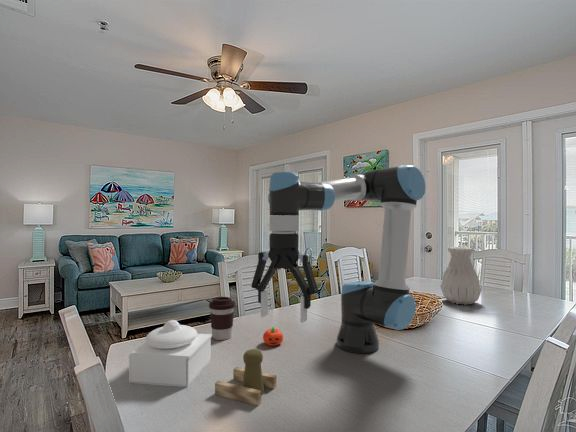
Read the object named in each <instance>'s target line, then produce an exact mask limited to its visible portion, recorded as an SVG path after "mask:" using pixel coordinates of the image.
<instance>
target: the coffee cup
mask: <svg viewBox="0 0 576 432" xmlns="http://www.w3.org/2000/svg"><path fill="white" fill-rule="evenodd" d="M235 306H236V302H235V301H234V300H232V298H231V297H230V296H229V297H228V296H217V297H214V298H212V301H210V302H209V303H208V308H209V309H210V326H211V333H212V337H211V338H213V339H214V340H216V341H225V340H229V339H230V338H231V337H232V335H233V332H232V331H233V327H234V312H235V311H234V308H235Z"/></svg>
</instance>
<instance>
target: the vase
mask: <svg viewBox="0 0 576 432" xmlns="http://www.w3.org/2000/svg"><path fill="white" fill-rule="evenodd" d="M447 250H448V252H449V253H450V259H449V263H448V265H447V266H446V267H445V271H444V272H443V275H442V278H441V279H442V280H441V282H440V289H441V293H442V296H443V297H444V299H446V300H447V301H448V302H449V301H450V302H449V303H451V302H452V303H451V304H454V303H456V304H455V305H458V304H462V305H461V306H468V305H467V304H471V305H472V304H473V303H476V302H478V300H479V298H480V296H481V292H482V288H481V284H480V279H479V276H478V274H477V272H476V271H477V270H476V269H475V268H474V265H473V264H472V260H471V255H472V253H473V252H474V248H473V247H464V246H449V247H447ZM463 304H464V305H463Z"/></svg>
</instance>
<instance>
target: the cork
mask: <svg viewBox="0 0 576 432" xmlns="http://www.w3.org/2000/svg"><path fill="white" fill-rule="evenodd" d="M263 356H264V355H263V353H262V351H261V350H259V349H256V348H255V349H254V348H251V349H248V350H246V351H245V352H244V354H243V358H242V359H243V364H245V365H244V369H245V371H244V378H243V382H242V386H243V387H247V388H252V389H256V390H260V391H261V396H263V395H264V393H265V387H264V386H263V378H262V372H263V371H262V362H263V359H264V357H263Z"/></svg>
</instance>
